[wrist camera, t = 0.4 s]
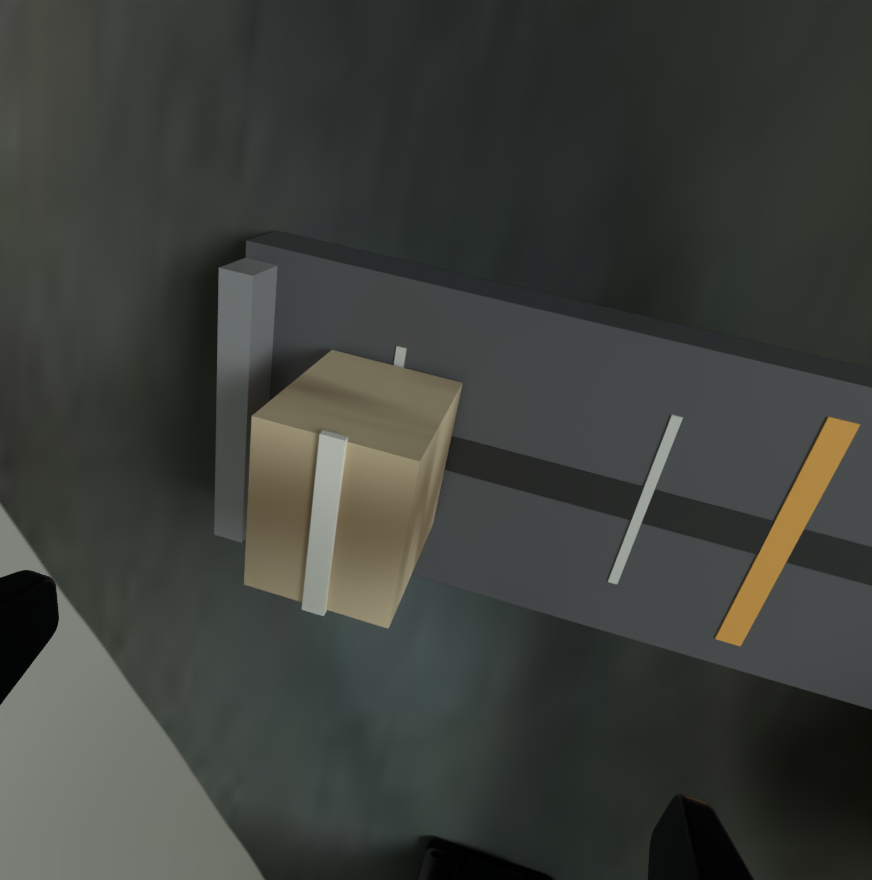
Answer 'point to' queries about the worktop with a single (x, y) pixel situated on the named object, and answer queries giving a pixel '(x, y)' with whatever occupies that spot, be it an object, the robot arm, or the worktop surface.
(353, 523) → the fader knob
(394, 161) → the worktop surface
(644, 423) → the fader console
